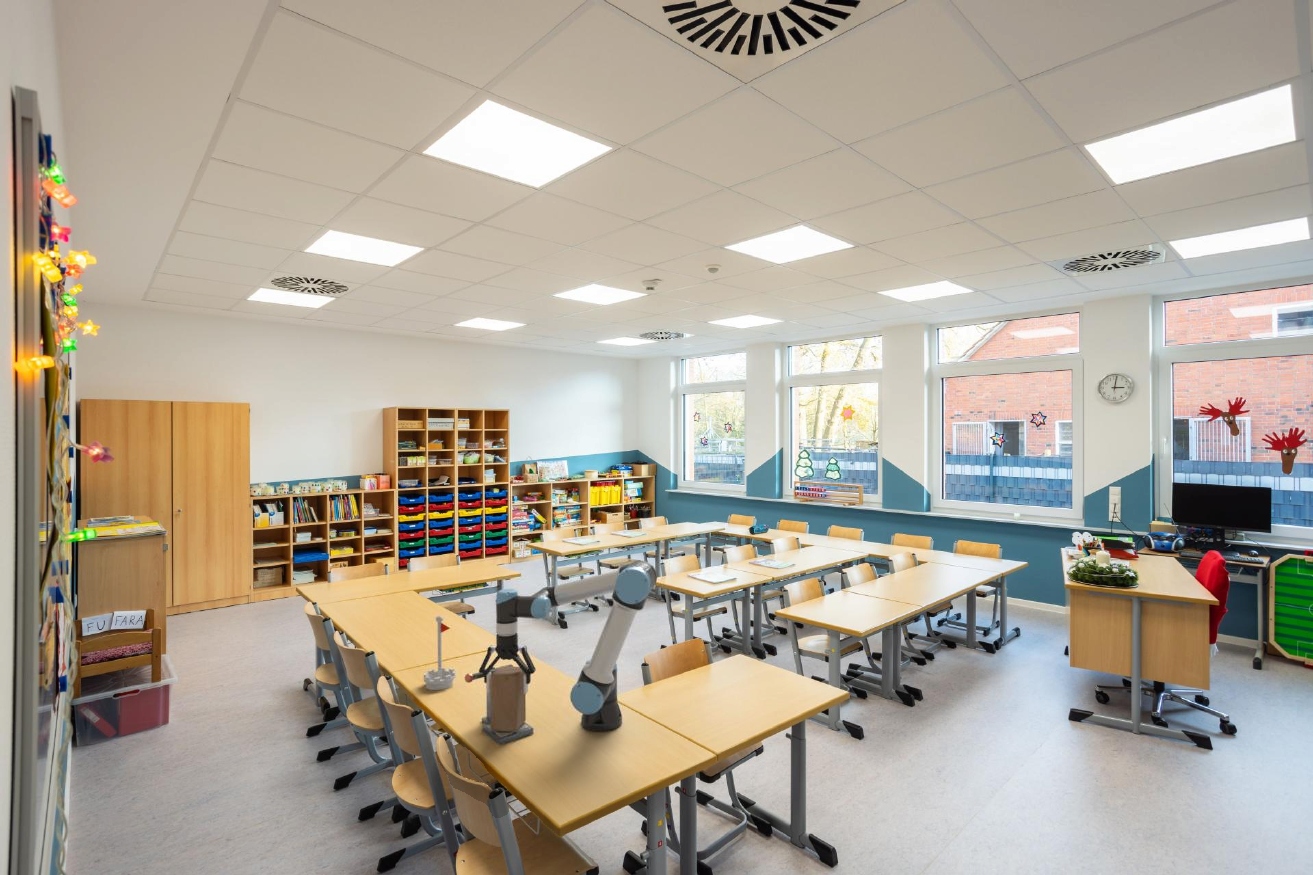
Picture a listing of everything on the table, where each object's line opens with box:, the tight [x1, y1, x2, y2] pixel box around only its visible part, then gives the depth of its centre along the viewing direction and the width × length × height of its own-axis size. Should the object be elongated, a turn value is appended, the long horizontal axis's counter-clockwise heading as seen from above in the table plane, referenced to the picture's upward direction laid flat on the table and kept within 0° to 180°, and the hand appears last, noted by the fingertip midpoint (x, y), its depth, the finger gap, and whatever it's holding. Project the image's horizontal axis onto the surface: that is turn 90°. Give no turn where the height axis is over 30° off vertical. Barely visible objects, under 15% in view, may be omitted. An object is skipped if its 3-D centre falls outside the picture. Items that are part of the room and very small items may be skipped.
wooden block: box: [490, 665, 527, 732], centre depth 229 cm, size 10×10×20 cm
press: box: [481, 666, 534, 746], centre depth 232 cm, size 22×13×20 cm, turn 40°
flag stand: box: [423, 615, 457, 691], centre depth 274 cm, size 13×13×30 cm
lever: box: [464, 663, 515, 684], centre depth 237 cm, size 3×20×6 cm, turn 130°
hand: (507, 692), depth 229 cm, fingers open, 13 cm apart
